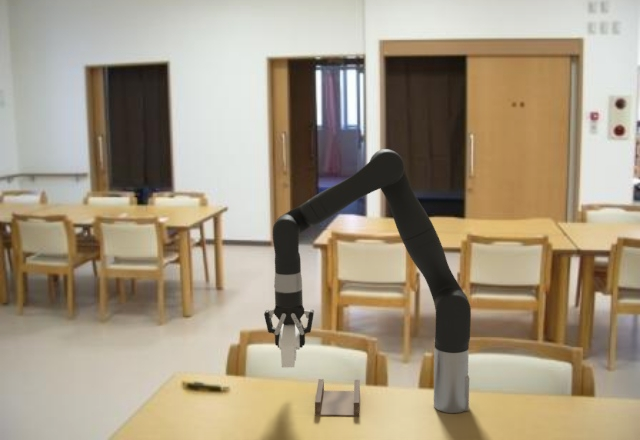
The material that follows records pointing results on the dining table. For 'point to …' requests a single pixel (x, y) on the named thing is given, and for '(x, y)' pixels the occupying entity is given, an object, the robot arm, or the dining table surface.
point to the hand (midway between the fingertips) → (290, 346)
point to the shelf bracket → (289, 344)
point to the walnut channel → (337, 401)
